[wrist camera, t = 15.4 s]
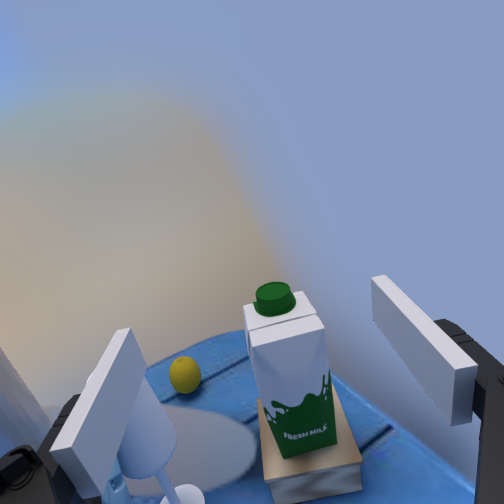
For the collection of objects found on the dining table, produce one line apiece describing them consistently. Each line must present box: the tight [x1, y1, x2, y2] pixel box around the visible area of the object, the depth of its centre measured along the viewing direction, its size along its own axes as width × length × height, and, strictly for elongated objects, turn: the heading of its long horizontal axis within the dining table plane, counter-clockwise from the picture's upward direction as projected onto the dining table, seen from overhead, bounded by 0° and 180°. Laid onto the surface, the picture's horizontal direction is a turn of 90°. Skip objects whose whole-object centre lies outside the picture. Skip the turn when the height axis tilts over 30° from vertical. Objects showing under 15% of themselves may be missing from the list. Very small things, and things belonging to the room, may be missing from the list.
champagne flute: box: [87, 373, 205, 504], centre depth 35 cm, size 7×7×24 cm
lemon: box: [169, 356, 201, 394], centre depth 57 cm, size 6×6×8 cm
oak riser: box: [257, 383, 363, 504], centre depth 42 cm, size 12×12×6 cm
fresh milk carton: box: [243, 282, 337, 459], centre depth 37 cm, size 9×9×20 cm
